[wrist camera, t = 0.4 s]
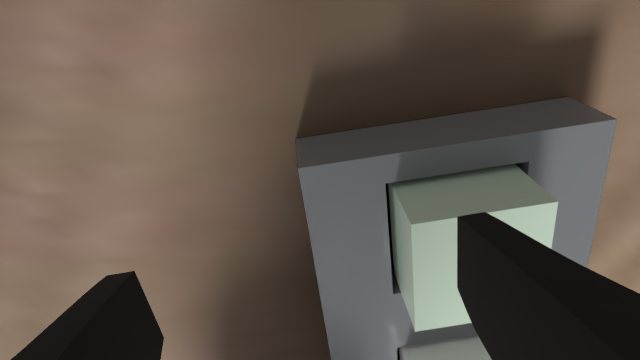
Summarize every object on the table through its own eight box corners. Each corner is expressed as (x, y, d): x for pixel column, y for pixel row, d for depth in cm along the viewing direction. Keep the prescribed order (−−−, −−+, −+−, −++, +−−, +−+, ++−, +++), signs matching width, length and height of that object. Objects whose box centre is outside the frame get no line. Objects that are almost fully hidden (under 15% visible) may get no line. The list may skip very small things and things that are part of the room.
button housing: (530, 362, 26) (558, 407, 24) (338, 393, 26) (345, 442, 23) (568, 96, 18) (616, 119, 16) (295, 138, 18) (297, 168, 16)
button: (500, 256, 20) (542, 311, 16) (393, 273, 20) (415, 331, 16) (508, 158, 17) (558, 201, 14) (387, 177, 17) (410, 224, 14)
